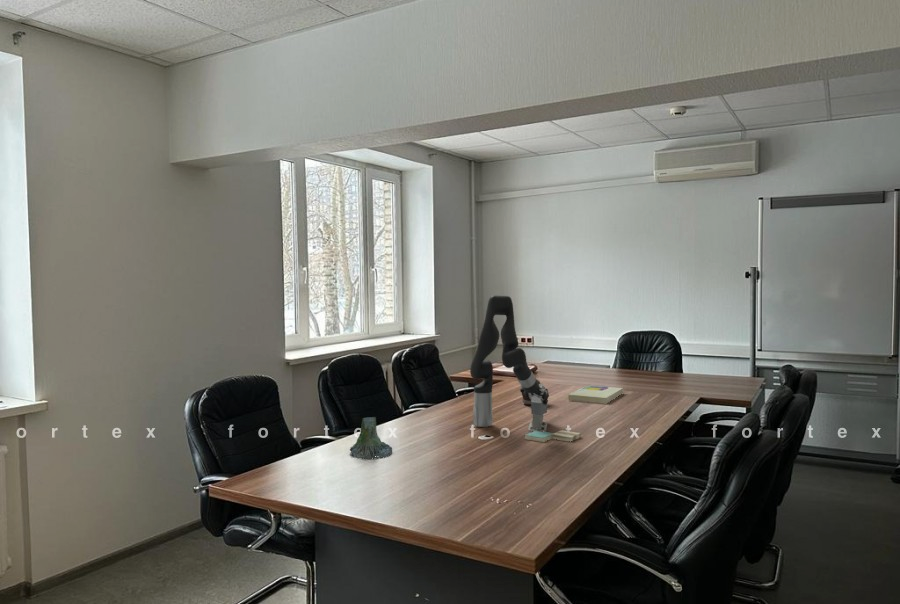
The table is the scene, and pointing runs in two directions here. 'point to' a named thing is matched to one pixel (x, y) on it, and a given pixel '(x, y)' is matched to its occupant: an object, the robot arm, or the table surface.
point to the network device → (538, 420)
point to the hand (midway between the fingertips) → (541, 402)
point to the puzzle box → (595, 394)
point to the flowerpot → (527, 400)
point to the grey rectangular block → (538, 405)
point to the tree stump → (370, 442)
